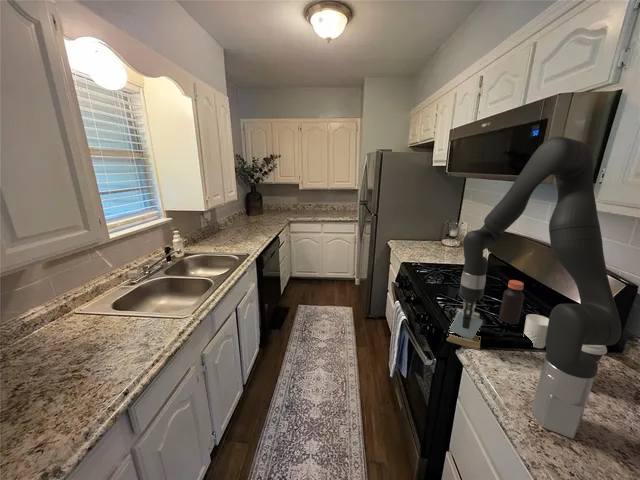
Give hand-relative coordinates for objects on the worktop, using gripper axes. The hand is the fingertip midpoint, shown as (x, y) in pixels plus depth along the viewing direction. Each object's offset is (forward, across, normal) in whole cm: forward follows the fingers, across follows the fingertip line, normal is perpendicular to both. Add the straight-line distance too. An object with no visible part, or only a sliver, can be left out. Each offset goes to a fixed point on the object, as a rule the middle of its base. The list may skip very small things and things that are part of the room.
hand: (465, 325), depth 99 cm
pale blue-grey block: (+4, 0, +1) cm, 4 cm away
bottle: (+7, +21, -15) cm, 27 cm away
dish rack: (+7, +4, 0) cm, 8 cm away
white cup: (+7, +13, -23) cm, 27 cm away
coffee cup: (+7, -3, -31) cm, 32 cm away
